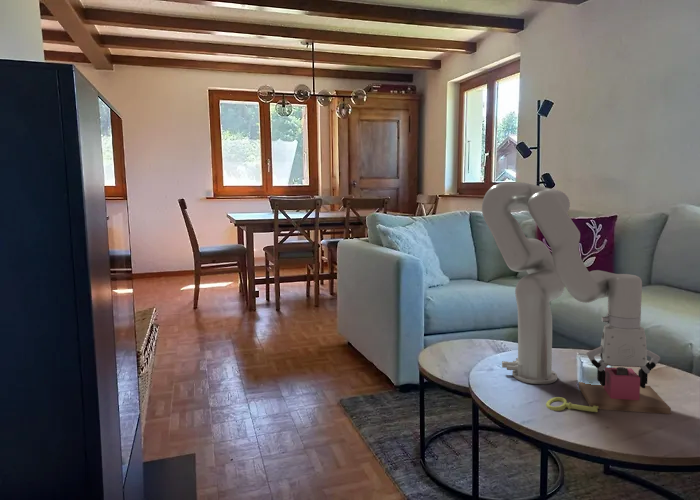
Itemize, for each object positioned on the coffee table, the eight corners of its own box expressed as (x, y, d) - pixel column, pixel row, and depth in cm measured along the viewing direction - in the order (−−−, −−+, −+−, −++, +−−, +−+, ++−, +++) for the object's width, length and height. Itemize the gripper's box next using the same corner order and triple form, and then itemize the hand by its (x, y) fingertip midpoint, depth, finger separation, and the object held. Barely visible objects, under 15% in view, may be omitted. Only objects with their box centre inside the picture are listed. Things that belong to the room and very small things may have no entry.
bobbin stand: (590, 408, 121) (591, 376, 120) (578, 386, 135) (579, 358, 134) (670, 414, 117) (671, 380, 116) (649, 391, 131) (650, 361, 130)
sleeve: (611, 398, 123) (611, 376, 123) (603, 388, 130) (604, 367, 129) (639, 400, 122) (640, 377, 121) (630, 389, 128) (631, 368, 128)
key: (600, 417, 118) (600, 409, 117) (546, 411, 122) (546, 403, 122) (595, 405, 124) (595, 397, 124) (545, 399, 129) (545, 392, 128)
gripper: (591, 324, 122) (589, 388, 124) (667, 326, 118) (664, 393, 120) (584, 317, 129) (582, 377, 131) (655, 318, 125) (653, 381, 127)
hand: (621, 384), depth 126 cm, fingers open, 9 cm apart
